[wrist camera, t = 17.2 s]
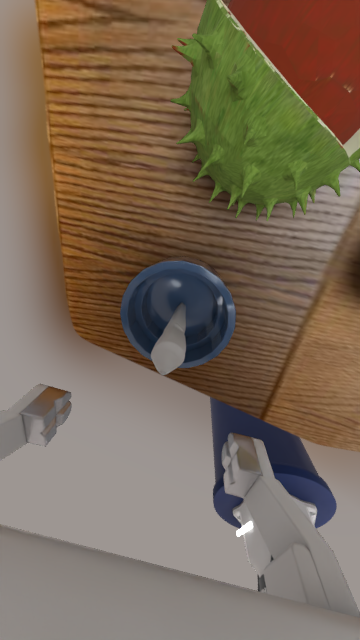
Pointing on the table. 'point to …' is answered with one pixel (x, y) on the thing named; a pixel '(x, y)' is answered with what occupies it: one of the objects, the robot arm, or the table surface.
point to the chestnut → (274, 98)
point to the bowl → (166, 295)
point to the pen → (171, 343)
